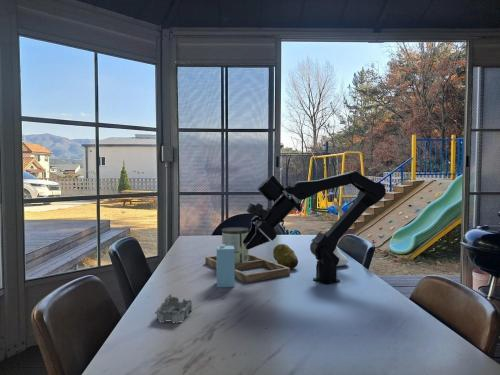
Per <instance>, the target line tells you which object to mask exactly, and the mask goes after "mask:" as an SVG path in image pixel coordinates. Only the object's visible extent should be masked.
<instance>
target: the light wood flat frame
mask: <svg viewBox="0 0 500 375" xmlns="http://www.w3.org/2000/svg"><path fill="white" fill-rule="evenodd" d="M204 260H205V265H208V266H210V267H212V268H214V269H215V270H217V255H213V256H206V257H205V258H204ZM248 260H249V261H248V262H242V263H235V279H237V280H239V281H241V282H243V283H246V284H248V282H249V283H253V281H254V282H259V280H260V281H264V280H269V279H270V278H271V279H275V278H276V279H277V278H281V277H289V276H291V269H290V268H288V267H286V266H283V265H280V264H278V263H277V262H274V261H271V260H269V259H265V258H263V257H260V256H257V255H254V254H251V253H248ZM257 267H258V268H263V267H264V268H267V269H269V270H265V271H259V272H252V273H246V272H243V270H244V271H245V270H251V269H255V268H256V269H257Z"/></svg>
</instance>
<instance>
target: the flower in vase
mask: <svg viewBox="0 0 500 375" xmlns="http://www.w3.org/2000/svg"><path fill="white" fill-rule="evenodd" d="M332 204H333V207H334V208H335V211H334V214H333V215H332V218H331V224H330V226H331V227H332V226H333V225H334V224H335V223H336V222H337V221H336V220H335V221H334V217H335V215H336V213H338V215H339V216H340V217H341V216H342V215H343V214H344V213H345V211H343V209H342V206H341V205H339V202H338V201H337V200H333V201H332ZM329 230H330V228H328V229H326V232H327V231H329ZM333 253H334V254H335V255H336V256H337V257H338V258H339V262H338V265H337V267H343V266H346V265H347V264H348V263H349V260H348V258H347V257H346V256H345V254H343V253H342V252H341V251H340V250H339V249H338V245H337V246H336V249H335V251H334V252H333Z"/></svg>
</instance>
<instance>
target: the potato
mask: <svg viewBox="0 0 500 375" xmlns="http://www.w3.org/2000/svg"><path fill="white" fill-rule="evenodd" d="M272 255H273V259H274V260H275V261H276V263H277V264H280V265H283V266H286V267H288V268H290V270H293V269H295V268H296V267H298V264H299V260H298V256H297V255H296V253H295V250H293V249H292V248H291V247H290V246H289V245H287V244H286V243H279V244H277V245H275V247H274V248H273V250H272Z"/></svg>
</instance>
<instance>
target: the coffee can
mask: <svg viewBox="0 0 500 375" xmlns="http://www.w3.org/2000/svg"><path fill="white" fill-rule="evenodd" d="M249 230H250V228H248V227H245V226H243V227H241V226H231V227H224V228H221V234H222V235H221V237H222V242H221V243H222V244H221V245H225V246H234V249H235V263H242V262H249V261H248V254H249V250H247V249H246V246H247V244H248V243H249V242H248V243H246V244H244V243H243V240H244V239H245V237H246V235H247V234H248V232H249Z"/></svg>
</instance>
